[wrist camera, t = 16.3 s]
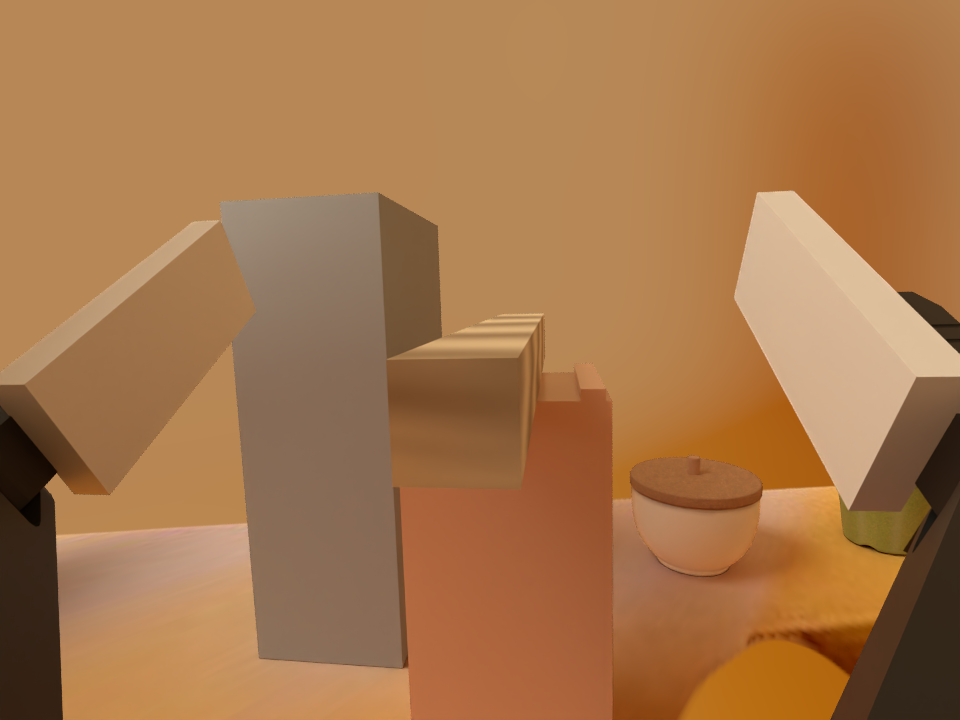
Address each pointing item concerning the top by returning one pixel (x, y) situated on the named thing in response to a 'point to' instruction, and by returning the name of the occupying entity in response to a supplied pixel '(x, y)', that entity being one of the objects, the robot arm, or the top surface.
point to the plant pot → (885, 524)
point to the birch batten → (466, 405)
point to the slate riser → (327, 415)
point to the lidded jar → (695, 512)
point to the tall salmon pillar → (518, 575)
